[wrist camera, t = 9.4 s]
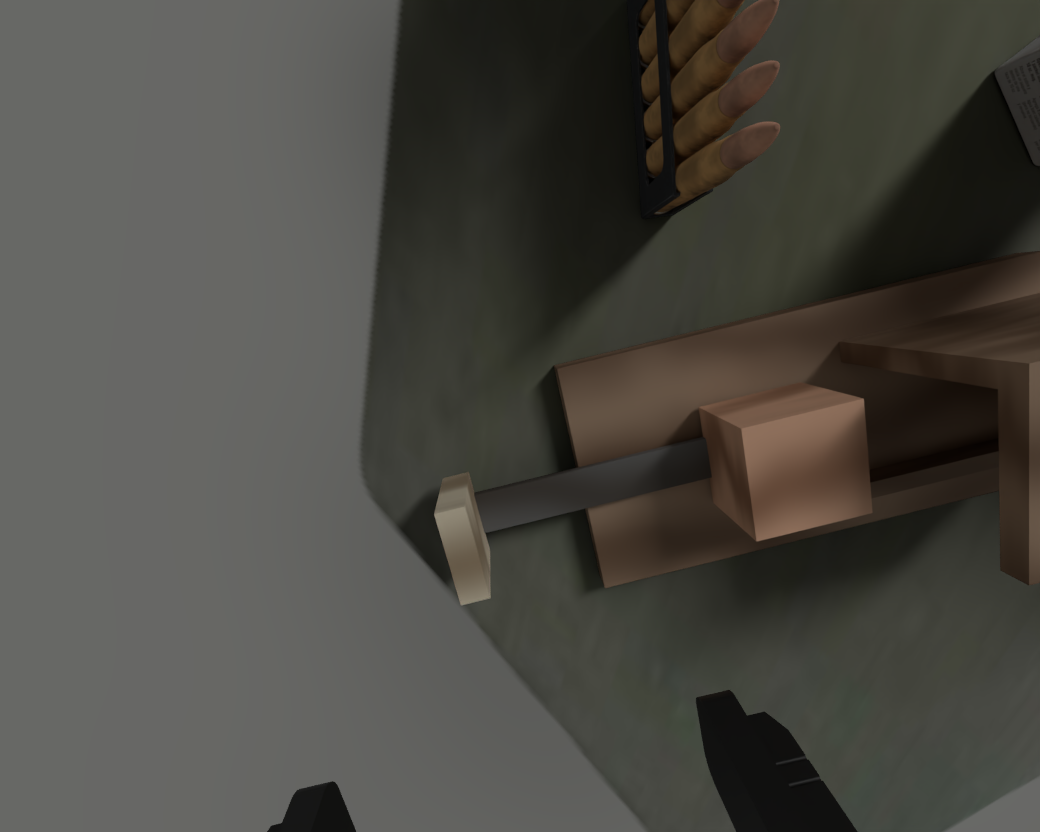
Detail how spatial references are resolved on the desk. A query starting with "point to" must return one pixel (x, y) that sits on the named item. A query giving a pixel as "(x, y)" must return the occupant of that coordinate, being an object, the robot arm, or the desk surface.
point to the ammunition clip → (695, 95)
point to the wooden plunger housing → (842, 368)
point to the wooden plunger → (691, 477)
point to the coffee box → (1024, 94)
